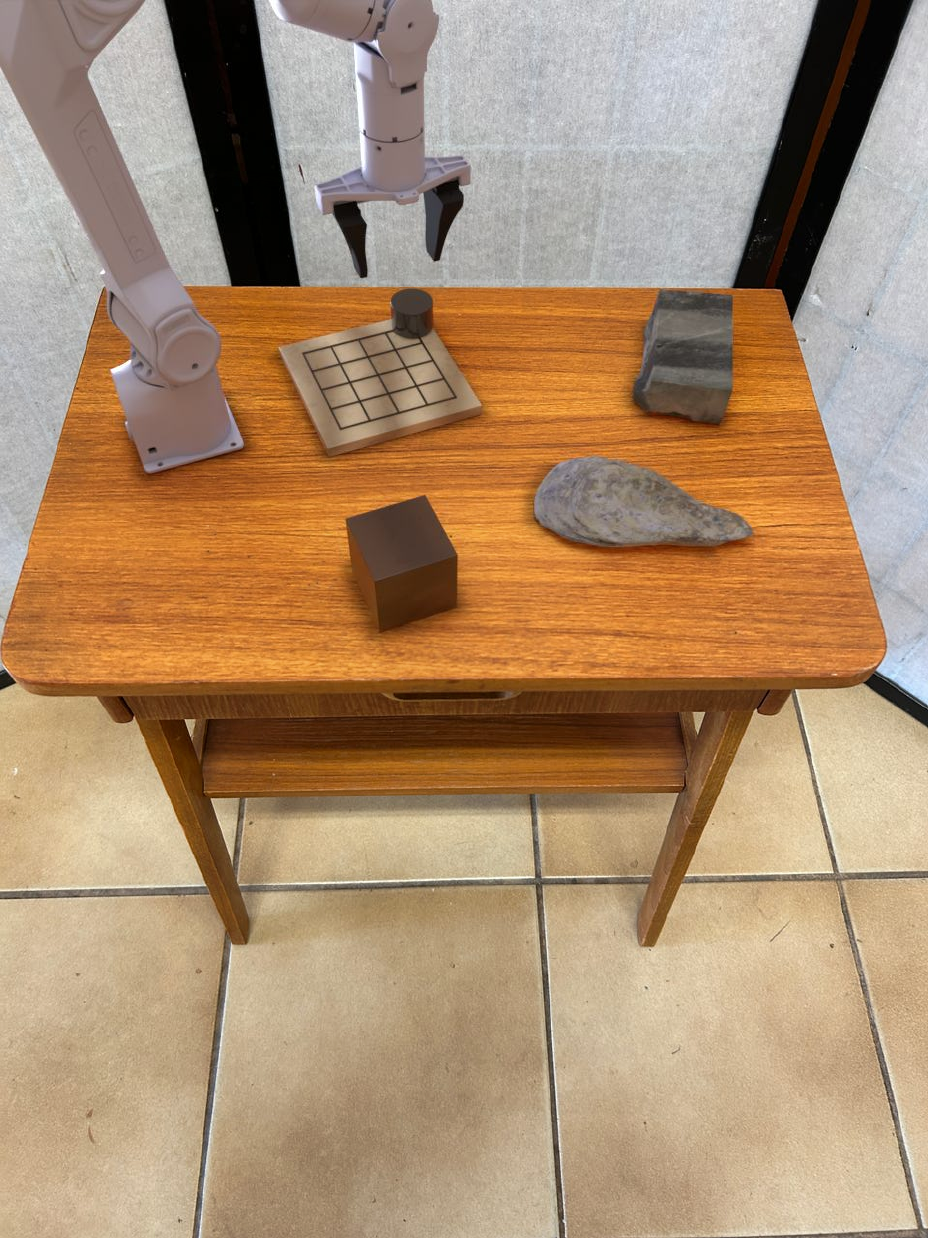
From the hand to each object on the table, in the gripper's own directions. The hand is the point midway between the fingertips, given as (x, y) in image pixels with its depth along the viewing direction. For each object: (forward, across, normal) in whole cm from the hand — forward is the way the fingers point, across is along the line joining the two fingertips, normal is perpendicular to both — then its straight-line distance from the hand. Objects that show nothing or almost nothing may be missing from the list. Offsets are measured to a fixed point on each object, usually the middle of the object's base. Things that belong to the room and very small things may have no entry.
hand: (397, 263), depth 94 cm
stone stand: (+9, -12, -32) cm, 35 cm away
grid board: (+9, -5, -6) cm, 12 cm away
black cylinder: (+8, +1, 0) cm, 8 cm away
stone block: (+9, +25, -16) cm, 31 cm away
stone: (+9, +11, -32) cm, 35 cm away
